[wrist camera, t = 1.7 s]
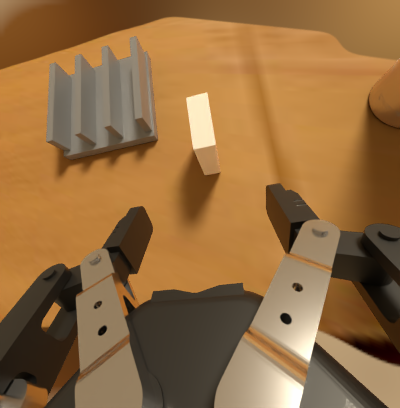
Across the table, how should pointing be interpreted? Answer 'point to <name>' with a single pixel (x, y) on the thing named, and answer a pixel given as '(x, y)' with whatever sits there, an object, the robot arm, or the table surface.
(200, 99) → the tall cream block
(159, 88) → the table surface
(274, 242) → the table surface
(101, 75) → the dish rack
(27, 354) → the robot arm
